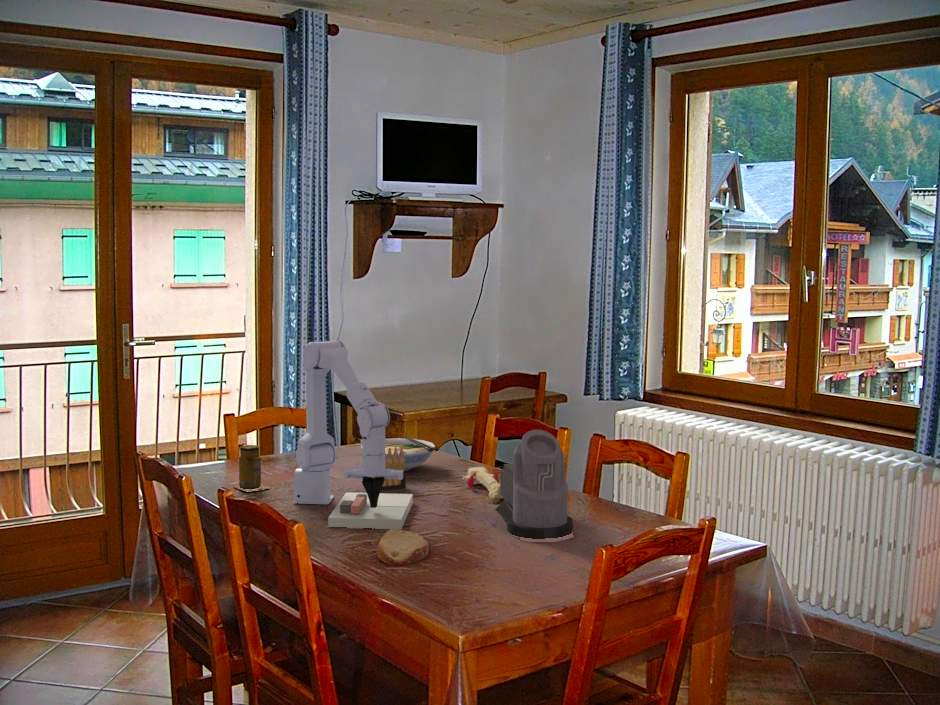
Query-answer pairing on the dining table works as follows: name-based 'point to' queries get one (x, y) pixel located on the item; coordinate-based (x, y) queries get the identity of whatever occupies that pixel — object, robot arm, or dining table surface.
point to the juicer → (536, 489)
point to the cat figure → (485, 482)
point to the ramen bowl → (410, 451)
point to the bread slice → (401, 548)
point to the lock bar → (358, 503)
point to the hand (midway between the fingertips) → (373, 506)
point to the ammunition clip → (394, 483)
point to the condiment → (249, 467)
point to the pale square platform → (372, 512)
